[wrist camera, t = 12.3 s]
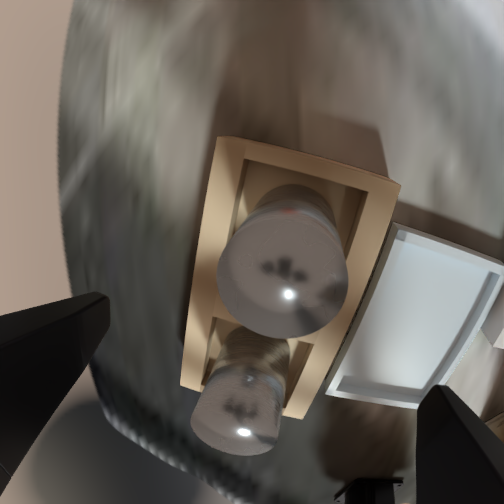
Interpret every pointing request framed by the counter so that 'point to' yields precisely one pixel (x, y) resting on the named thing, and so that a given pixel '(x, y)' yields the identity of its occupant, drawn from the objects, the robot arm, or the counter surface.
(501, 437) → the coffee box
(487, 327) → the white square frame
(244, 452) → the billet
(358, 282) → the shallow beige tray
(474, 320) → the grey flat rimmed tray
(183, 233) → the counter surface
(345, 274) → the cylinder
